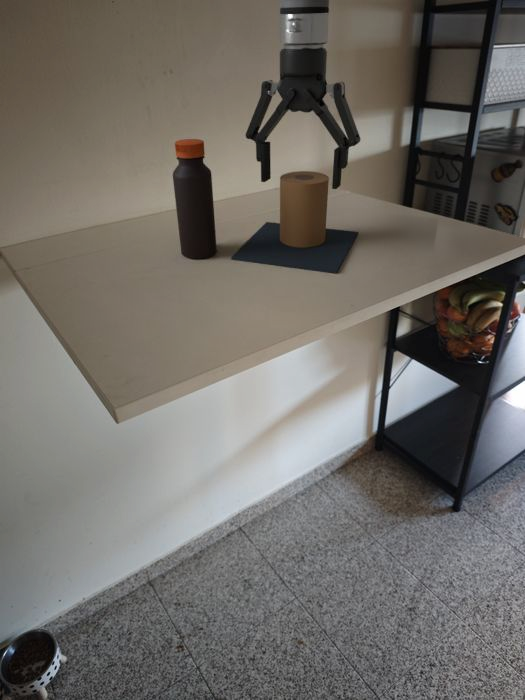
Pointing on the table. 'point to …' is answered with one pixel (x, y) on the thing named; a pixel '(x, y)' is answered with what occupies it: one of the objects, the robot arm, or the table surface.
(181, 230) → the bottle
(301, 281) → the table surface
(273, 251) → the slate mat
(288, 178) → the paper roll
